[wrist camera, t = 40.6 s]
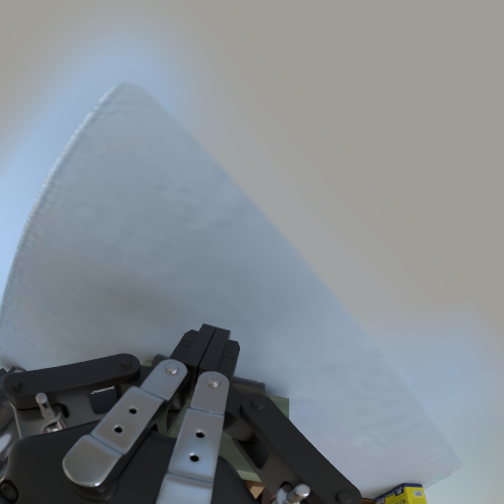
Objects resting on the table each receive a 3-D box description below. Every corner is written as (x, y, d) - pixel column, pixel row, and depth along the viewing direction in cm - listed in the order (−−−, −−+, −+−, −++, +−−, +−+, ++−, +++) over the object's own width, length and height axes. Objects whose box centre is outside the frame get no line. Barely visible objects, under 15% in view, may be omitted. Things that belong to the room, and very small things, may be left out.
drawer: (146, 306, 17) (86, 365, 10) (310, 348, 17) (318, 434, 10) (152, 447, 23) (129, 494, 16) (250, 475, 22) (241, 526, 15)
